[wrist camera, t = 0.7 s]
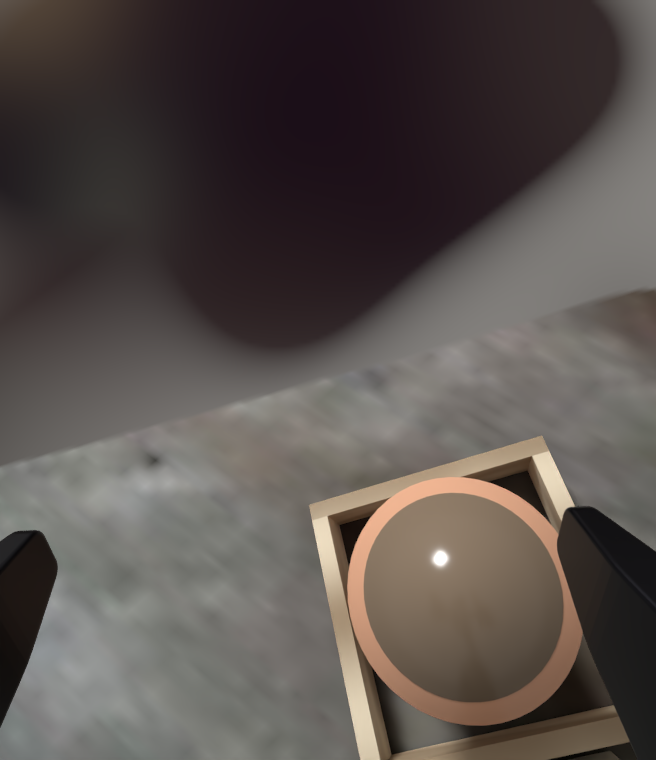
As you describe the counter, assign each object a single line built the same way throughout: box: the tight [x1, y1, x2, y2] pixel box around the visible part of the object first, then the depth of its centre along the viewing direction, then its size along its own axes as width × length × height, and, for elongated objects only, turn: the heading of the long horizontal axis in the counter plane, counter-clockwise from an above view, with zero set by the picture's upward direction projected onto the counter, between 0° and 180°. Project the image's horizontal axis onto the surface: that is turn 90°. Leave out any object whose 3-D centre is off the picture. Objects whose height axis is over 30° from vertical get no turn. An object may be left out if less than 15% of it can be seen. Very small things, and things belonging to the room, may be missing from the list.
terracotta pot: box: [347, 477, 583, 726], centre depth 17 cm, size 6×6×8 cm
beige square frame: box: [309, 436, 630, 760], centre depth 20 cm, size 10×10×2 cm
